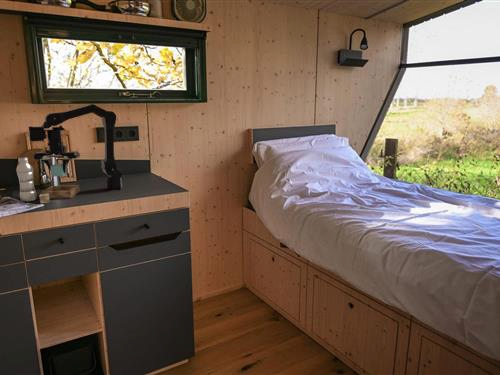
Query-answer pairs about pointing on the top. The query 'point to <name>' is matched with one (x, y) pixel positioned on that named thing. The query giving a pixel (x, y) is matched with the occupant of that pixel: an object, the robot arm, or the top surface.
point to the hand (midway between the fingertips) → (58, 173)
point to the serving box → (61, 191)
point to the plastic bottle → (26, 180)
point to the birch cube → (44, 198)
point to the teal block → (57, 170)
